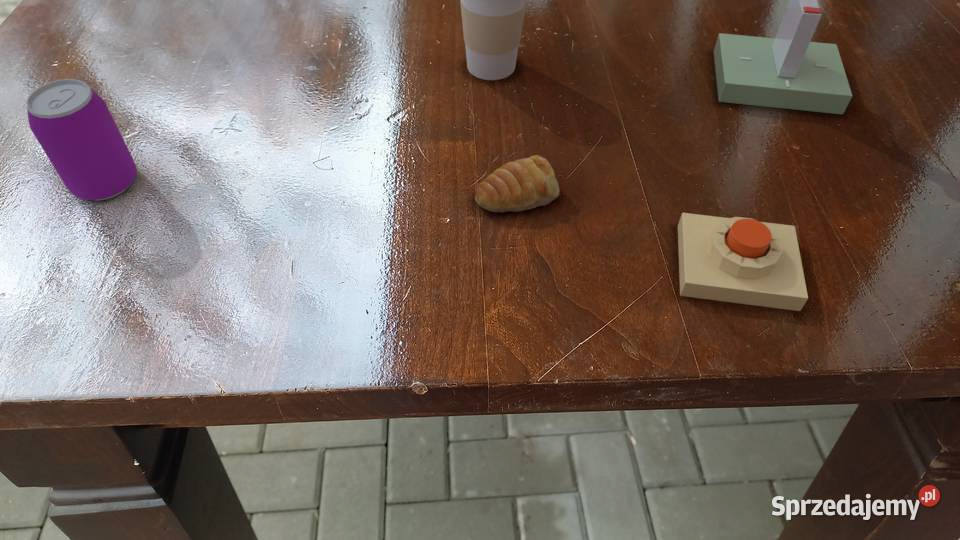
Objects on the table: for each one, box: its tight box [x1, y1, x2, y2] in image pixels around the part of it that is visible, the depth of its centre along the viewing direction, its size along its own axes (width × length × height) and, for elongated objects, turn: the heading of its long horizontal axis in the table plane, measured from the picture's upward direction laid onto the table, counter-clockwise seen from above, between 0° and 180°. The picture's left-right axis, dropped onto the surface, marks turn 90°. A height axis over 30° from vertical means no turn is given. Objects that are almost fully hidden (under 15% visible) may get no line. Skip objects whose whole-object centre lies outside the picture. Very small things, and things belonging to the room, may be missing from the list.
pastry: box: [474, 154, 560, 214], centre depth 79 cm, size 9×7×4 cm
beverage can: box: [25, 78, 138, 202], centre depth 76 cm, size 8×8×12 cm
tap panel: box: [713, 32, 853, 115], centre depth 94 cm, size 16×12×3 cm
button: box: [727, 218, 772, 259], centre depth 70 cm, size 4×4×2 cm
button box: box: [677, 212, 809, 312], centre depth 72 cm, size 12×10×4 cm
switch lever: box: [772, 0, 822, 78], centre depth 89 cm, size 7×2×9 cm, turn 171°
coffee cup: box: [459, 0, 528, 81], centre depth 91 cm, size 9×9×15 cm
